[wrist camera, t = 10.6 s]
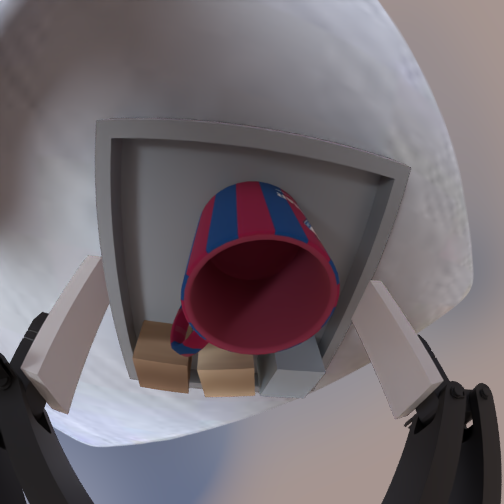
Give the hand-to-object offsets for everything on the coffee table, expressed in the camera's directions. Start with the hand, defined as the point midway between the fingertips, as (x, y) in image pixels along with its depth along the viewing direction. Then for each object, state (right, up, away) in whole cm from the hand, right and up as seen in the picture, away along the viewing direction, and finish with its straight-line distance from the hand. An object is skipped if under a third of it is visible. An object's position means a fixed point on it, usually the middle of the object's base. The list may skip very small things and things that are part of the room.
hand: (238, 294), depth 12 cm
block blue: (+3, -6, +10) cm, 13 cm away
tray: (-1, 0, +7) cm, 7 cm away
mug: (-1, +2, +5) cm, 6 cm away
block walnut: (-6, -5, +9) cm, 12 cm away
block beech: (-1, -6, +9) cm, 11 cm away
